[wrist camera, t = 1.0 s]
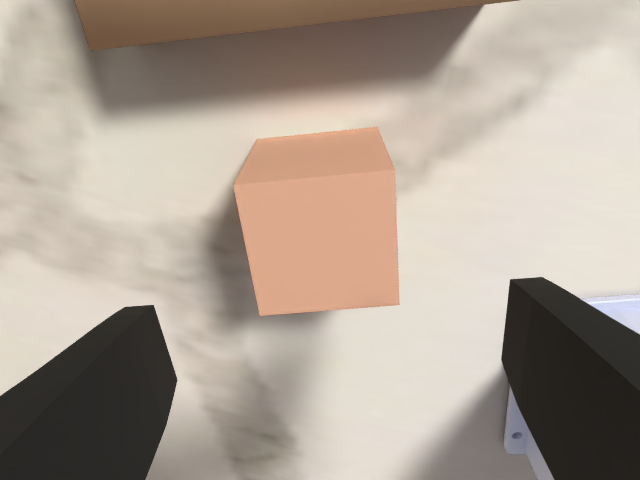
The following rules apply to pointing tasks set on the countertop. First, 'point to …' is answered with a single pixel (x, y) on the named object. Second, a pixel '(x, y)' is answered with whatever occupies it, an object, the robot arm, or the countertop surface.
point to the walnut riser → (229, 16)
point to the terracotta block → (320, 222)
